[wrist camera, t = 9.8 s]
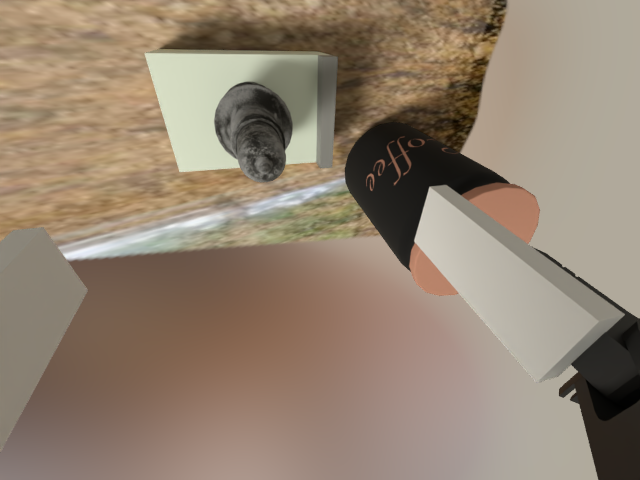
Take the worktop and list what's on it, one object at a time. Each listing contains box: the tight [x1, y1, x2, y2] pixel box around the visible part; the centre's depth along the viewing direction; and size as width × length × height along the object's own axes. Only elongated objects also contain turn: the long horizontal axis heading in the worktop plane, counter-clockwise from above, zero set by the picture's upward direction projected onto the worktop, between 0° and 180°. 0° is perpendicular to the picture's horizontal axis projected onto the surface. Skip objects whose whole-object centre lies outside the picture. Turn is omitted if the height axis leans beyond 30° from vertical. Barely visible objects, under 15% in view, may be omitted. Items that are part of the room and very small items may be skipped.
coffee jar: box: [345, 122, 540, 296], centre depth 29 cm, size 11×11×18 cm
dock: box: [145, 49, 338, 172], centre depth 25 cm, size 14×9×7 cm, turn 89°
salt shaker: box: [214, 82, 293, 182], centre depth 19 cm, size 6×6×12 cm
